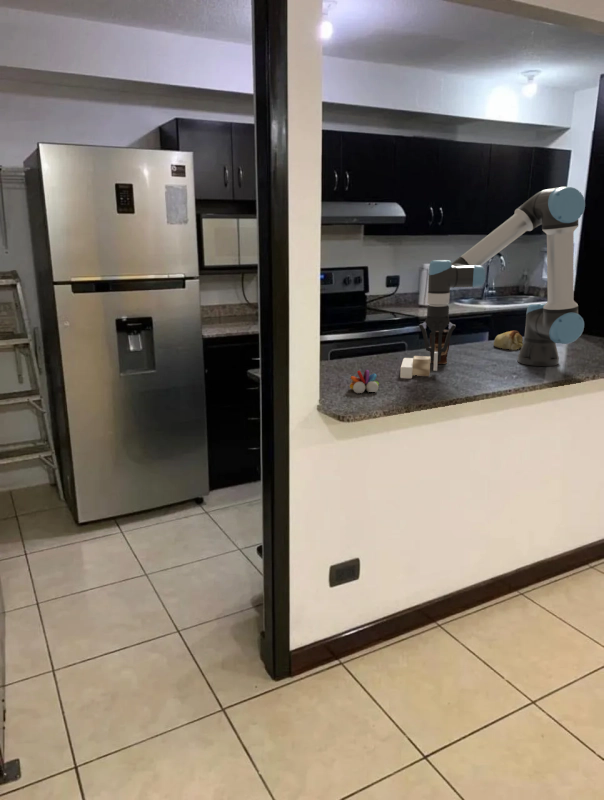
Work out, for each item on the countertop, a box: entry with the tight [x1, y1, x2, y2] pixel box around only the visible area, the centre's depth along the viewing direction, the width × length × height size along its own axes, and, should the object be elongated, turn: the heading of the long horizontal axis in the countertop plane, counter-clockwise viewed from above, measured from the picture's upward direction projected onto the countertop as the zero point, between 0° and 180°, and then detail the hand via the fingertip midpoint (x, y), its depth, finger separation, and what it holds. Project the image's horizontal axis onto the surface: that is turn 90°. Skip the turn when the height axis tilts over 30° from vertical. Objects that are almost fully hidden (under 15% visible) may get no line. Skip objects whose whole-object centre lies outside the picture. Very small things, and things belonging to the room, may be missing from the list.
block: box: [412, 355, 431, 377], centre depth 217 cm, size 6×6×6 cm
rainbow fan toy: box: [349, 369, 380, 394], centre depth 195 cm, size 8×10×7 cm
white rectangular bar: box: [399, 357, 414, 379], centre depth 219 cm, size 4×16×4 cm, turn 167°
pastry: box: [493, 329, 524, 351], centre depth 264 cm, size 14×12×8 cm
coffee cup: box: [429, 329, 451, 365], centre depth 233 cm, size 9×8×13 cm
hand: (435, 369), depth 216 cm, fingers closed
